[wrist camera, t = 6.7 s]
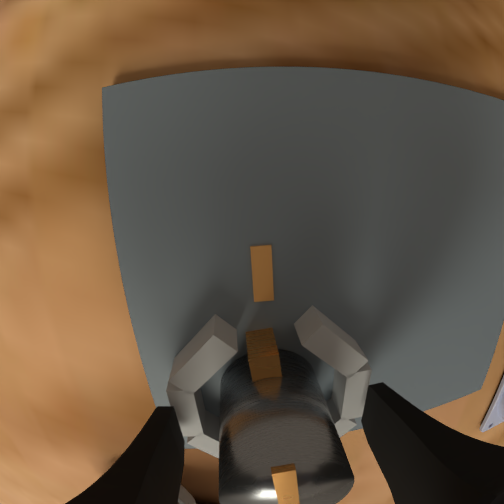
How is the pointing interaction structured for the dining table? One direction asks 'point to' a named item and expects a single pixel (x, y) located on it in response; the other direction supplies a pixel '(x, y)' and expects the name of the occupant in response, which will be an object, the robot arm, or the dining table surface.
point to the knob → (277, 431)
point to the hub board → (308, 231)
